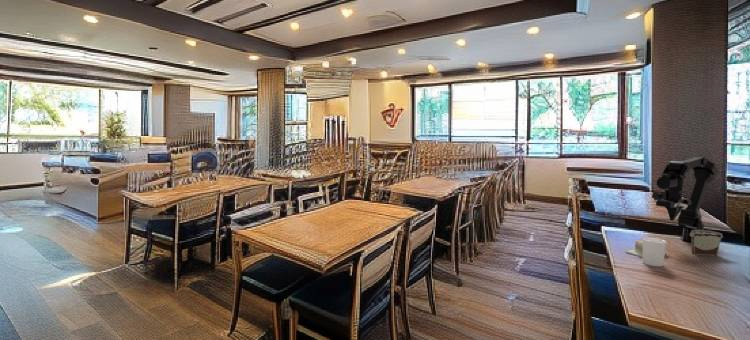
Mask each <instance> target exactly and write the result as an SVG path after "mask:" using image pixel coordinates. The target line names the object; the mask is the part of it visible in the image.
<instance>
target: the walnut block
mask: <svg viewBox="0 0 750 340" xmlns="http://www.w3.org/2000/svg"><path fill="white" fill-rule="evenodd" d="M634 245H635V246H634V249H635V252H639V253H642V254H643V238H641V239H637V240H636V239H635V243H634Z"/></svg>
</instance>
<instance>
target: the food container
mask: <svg viewBox="0 0 750 340" xmlns="http://www.w3.org/2000/svg"><path fill="white" fill-rule="evenodd" d="M690 236H691V239H692V242H691V254H692V255H695V256H714V255H717V256H718V253H719V249H720V245H721V241H722V239H723V238H724V236H723V233H720V232H718V231H713V230H708V229H707V230H705V229H703V230H692V231H691V233H690Z"/></svg>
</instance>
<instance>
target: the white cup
mask: <svg viewBox="0 0 750 340" xmlns="http://www.w3.org/2000/svg"><path fill="white" fill-rule="evenodd" d="M642 239H643V257H642V263H643V264H644V265H647V266H651V267H652V266H653V267H663V266H664V260H665V255H666V254H665V253H666V250H667V244H668V242H667V240H664V239H662V238H657V237H643V238H642Z"/></svg>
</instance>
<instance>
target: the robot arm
mask: <svg viewBox="0 0 750 340" xmlns="http://www.w3.org/2000/svg"><path fill="white" fill-rule="evenodd" d="M691 169H692V171H693V176H694V179H695V183H694V185H693V188H692V191H691V194H690V198H684V197H683V194H685V190H684V181H685V179H687V176H686V175H687V173H689V172H690V170H691ZM718 173H719V170H718V167H717V165H716V164H715V163H713V162H712V161H710V160H709V159H708V158H707V157H705V156H693V157H692V158H691V157H690V158H688V159H685V160H681V161H679V160H670V161H669V162H668V163H667V164H666V166H665V168H664V169H663V171H662V174H661V177H659V178H658V179H657V180H656V186H657V187H658V188H659V189H660V190H661V189H662V190H664V192H660V191H653V192H652V194H651V198H652V199H653V200H654V201H655V206H656V207H657V206H658V207H663V208H665V209H666V211H667V213H668V217H669V221H674V220H675V219H676V218H677V223H678V225H677V226H678V228H683V230H682V236H680V237H679V238H680V240H681V241H683V242H689V243H692V239H691V236H690V233H691V231H692V230H705V224H704V223H703V221H702V218H703V216H702V215H701V212H700V210H701V206H702V203H703V202H704V197H705V195H706V192H707V188H708V186H709V183H711V182H713V180H715V177H716V176H717V175H718ZM683 204H684V205H686V208H685V206H683Z"/></svg>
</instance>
